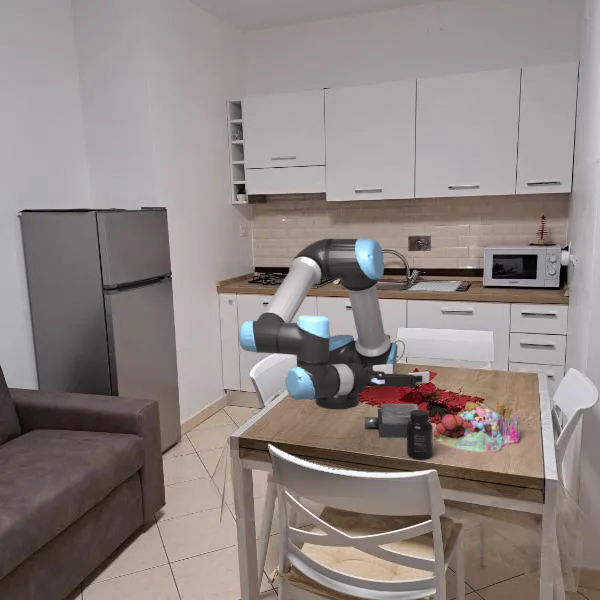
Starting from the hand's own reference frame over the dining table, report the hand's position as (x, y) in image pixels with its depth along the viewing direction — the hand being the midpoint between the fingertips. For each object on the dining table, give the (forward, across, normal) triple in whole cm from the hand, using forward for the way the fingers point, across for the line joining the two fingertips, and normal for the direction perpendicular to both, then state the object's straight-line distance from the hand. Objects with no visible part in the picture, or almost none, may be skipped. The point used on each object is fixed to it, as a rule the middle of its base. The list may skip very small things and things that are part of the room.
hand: (409, 372), depth 147 cm
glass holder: (+50, -64, -14) cm, 82 cm away
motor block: (+11, -18, -21) cm, 29 cm away
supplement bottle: (+5, 0, -23) cm, 23 cm away
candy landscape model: (+27, 0, -21) cm, 34 cm away
